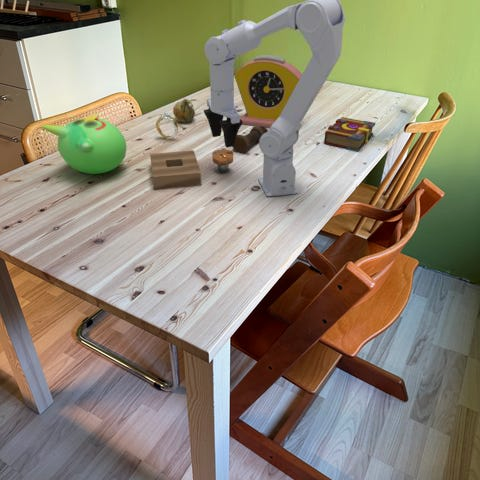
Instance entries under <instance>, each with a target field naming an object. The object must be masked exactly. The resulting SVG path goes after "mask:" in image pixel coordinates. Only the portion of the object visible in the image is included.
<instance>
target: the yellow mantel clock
mask: <svg viewBox="0 0 480 480" xmlns="http://www.w3.org/2000/svg"><path fill="white" fill-rule="evenodd" d="M302 74H303V72H301V71H300V70H299V69H298V68H297V67H296V66H294V65H293V64H291V62H289V61H286V59H285V58H283V57H281V56H279V55H275V54H262V55H257V56H255V57H254V58H253V59H252V60H251V61H248V62H247V63H245V64H244V65H242V66H241V67H240V68H238V69H237V70H236V71H235V72H234V79H235V80H234V81H235V82H236V85H237V88H238V91H239V94H240V97H241V99H242V104H243V105H244V106H243V107H244V109H245V110H244V111H245V112H246V113H245V114H244V115H242V117H240V119H241V120H242V121H243V124H242V125H246V126H253V127H261V126H263V127H265V128H267V129H268V128H269V129H270V127H271V126H272V125H273V123H274V122H275V121H276V120H277V119H278V118H279V116H280V115H281V113H282V111H283V109H284V107H285V105H286V104H287V102H288V100H289V98H290V96H291V94H292V93H293V91H294V89H295V87H296V85H297V83H298V81H299V80H300V78H301V76H302Z"/></svg>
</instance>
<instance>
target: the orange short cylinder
mask: <svg viewBox="0 0 480 480" xmlns="http://www.w3.org/2000/svg"><path fill="white" fill-rule="evenodd" d="M211 154H212V155H211V156H212V162H213V164H215V165H217V172H218V173H220V174H226V173H229V172H230V170H229V169H230V167H229V165H231V164H232V163H233V162H234V152H233V151H232V150H230V149H222V148H221V149H216V150H214V151H212V153H211Z"/></svg>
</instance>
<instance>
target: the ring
mask: <svg viewBox="0 0 480 480" xmlns="http://www.w3.org/2000/svg"><path fill="white" fill-rule="evenodd" d="M159 116H160V117H159V118H158V119H157V120H156V122H155V128H156V130H157V133H158V134H159V135H160V136H161V137H162V138H163V139H166V140H168V141H169V140H172V139H174V138H175V137H176V136H177V134H178V133H179V125H178V122H177V121H176V119H175V118H173V117H172V116H171V114H168V113H163V114H160V115H159ZM163 120H168V121H169V122H171V123H172V125H173V128H174V132H173V134H172V135H170V134H169V135H166V134H165V133H164V132H162V129H161V127H160V123H161V122H162V121H163Z"/></svg>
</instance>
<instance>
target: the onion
mask: <svg viewBox="0 0 480 480" xmlns="http://www.w3.org/2000/svg"><path fill="white" fill-rule="evenodd" d="M172 111H173V115H174V117H175V118H176V119H175V120H177V121H179V122H181V123H189V122H190V121H193V120H194V117H195V115H196V111H195V109H194V104H193V102H192V100H190V99H187V98H183V100H180V101H178V102H176V103H175V104H174V106H173V108H172Z"/></svg>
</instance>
